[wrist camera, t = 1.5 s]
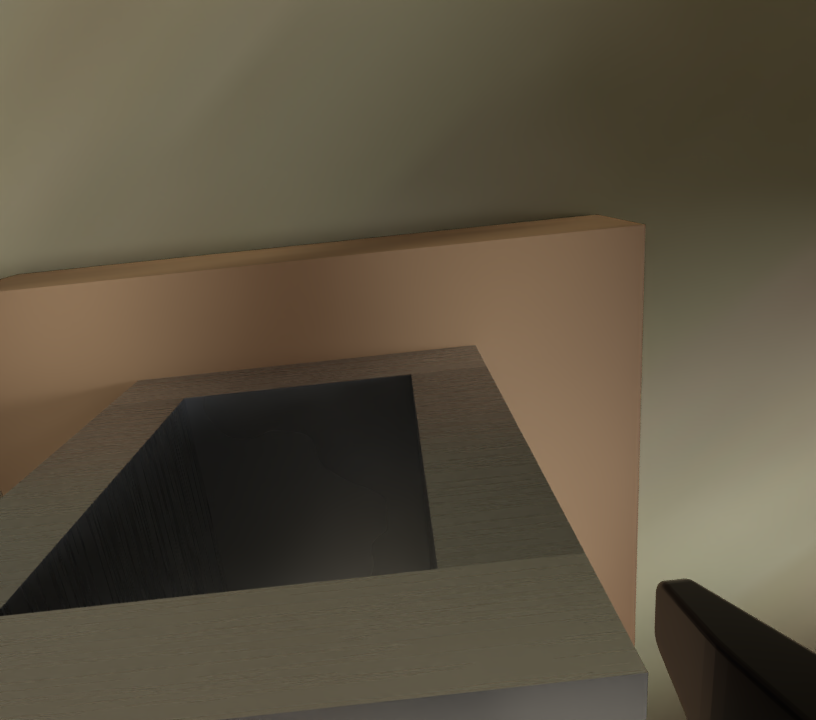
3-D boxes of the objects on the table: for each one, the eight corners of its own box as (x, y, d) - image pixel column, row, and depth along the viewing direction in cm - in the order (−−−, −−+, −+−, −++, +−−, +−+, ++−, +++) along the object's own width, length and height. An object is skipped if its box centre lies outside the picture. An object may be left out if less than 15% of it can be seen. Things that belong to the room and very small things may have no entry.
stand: (596, 214, 10) (645, 224, 8) (596, 669, 13) (631, 752, 11) (17, 274, 10) (-67, 298, 8) (151, 718, 13) (113, 810, 11)
